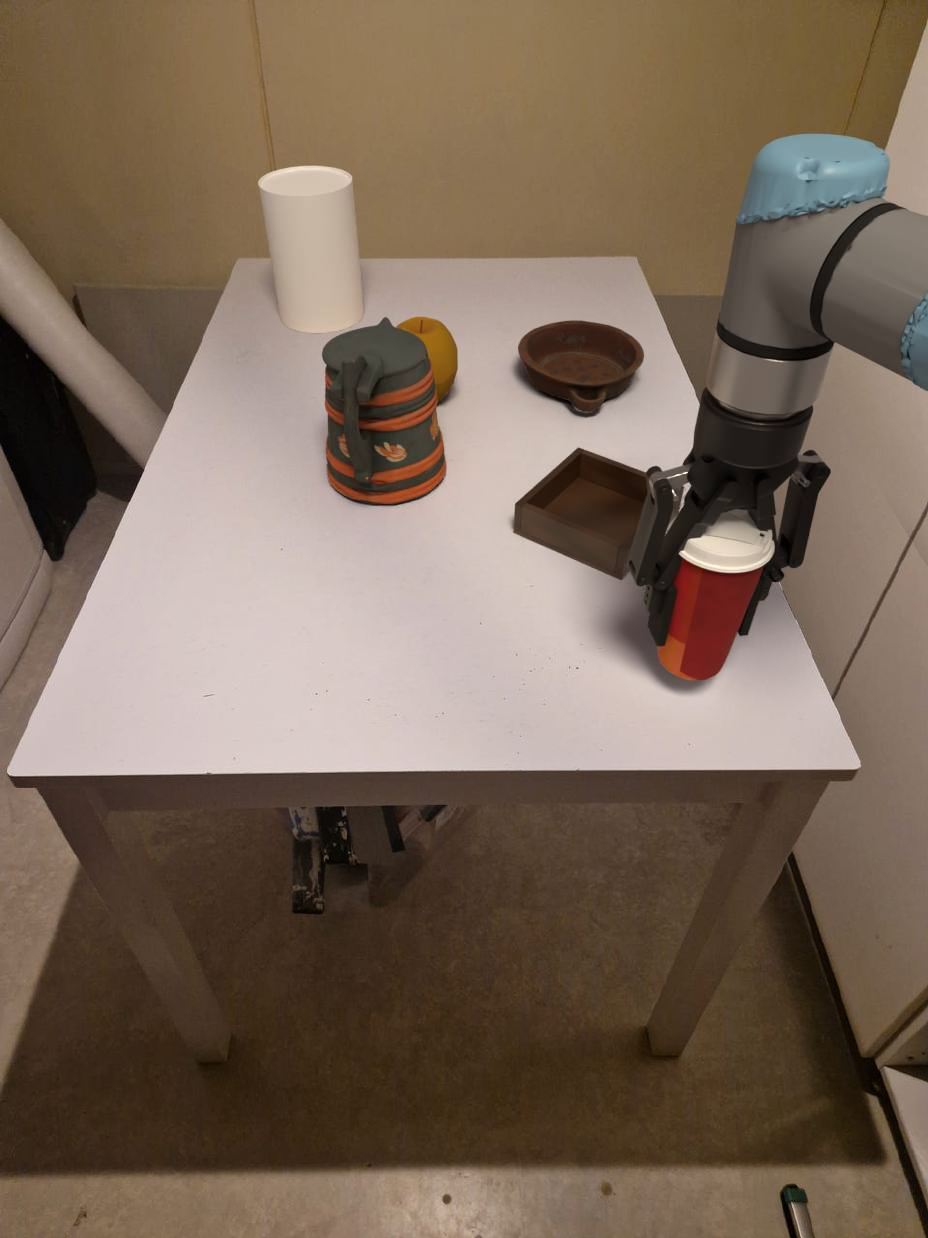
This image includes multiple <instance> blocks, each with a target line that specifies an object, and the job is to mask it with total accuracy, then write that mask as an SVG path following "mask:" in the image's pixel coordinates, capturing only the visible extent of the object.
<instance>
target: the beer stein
mask: <svg viewBox="0 0 928 1238" xmlns="http://www.w3.org/2000/svg"><path fill="white" fill-rule="evenodd" d="M396 327H397V326H394V325H393V324H392V322H391V320H390V318H389V317H387V316H385V317H383V318H382V319H381V320H380V322H379V323H378V324H376V325H369V326H364V327H359V328H356V329H352V330H349V331H346V332H345V331H344V332H342V333H340V334H339V335H336V336H334V337H333V338H331V339H330V340H328V342H326V343H325V345H324V346H323V347H322V352H321V358H322V361H323V363H324V364H325V369H324V382H325V385H324V386H325V389H324V393H325V394H324V407H325V410H326V413H327V436H326V440H325V455H326V467H327V469H326V472H327V473H326V475H327V478H328V481H329V483H330V485H331V486H333V489H334V490H335V491H337V493H340V495H342V496H344V497H346V498H348V499H350V500H352V501H356V502H361V503H366V504H372V505H380V504H381V505H382V504H383V505H396V504H397V505H398V504H401V503H405V502H408V501H411V500H417V499H420V498H421V497H423V496H426V495H427V494H428V493H430V492H431V491H432V490H433V489H435V488H436V487H437V485H439V484H440V483H441V482H442V480H443V479H444V477H445V475H446V472H447V461H446V456H445V445H444V438H443V437H444V436H443V433H442V430H441V428H440V427H439V419H438V411H437V406H438V402H437V390H436V386H435V379H434V371H433V364H432V362H431V360H430V359H429V357H428V352H427V349H426V345H425V344H424V342H423V341H422V340H421V339H420V338H419V337H418V336H416V335H414V334H413V333H410V332H408V331H405V330H402V329H399V328H396Z"/></svg>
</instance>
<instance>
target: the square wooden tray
mask: <svg viewBox="0 0 928 1238" xmlns="http://www.w3.org/2000/svg"><path fill="white" fill-rule="evenodd" d="M646 472H647V471H644V470H641V469H639V468H635V467H632V466H631V465H627V464H625V463H623V462H619V461H617V460H614V459H611V458H609V457H605V456H603V455H600V454H598V453H595V452H593V451H590V450H587V449H584V448H581V447H579V446H578V447H576V449H574V450H573V451H572V452H571V453H570V454H568V456H566V457H565V458H564V459H563V460H562V461H561V462H560V463H559V464H558V465H556V466H555V467H554V468H553V469H552V470H551V471H550V472H548V474H546V475H545V476H544V477H543V478H542V479H541V480H539V482H538V483H536V484H535V485H534V486H533V487H532V488H531V489H529V490H528V491H527V492H526V493H525V494H524V495H523V496H521V498H519V499H518V500H517V501H516V502H515V503H514V516H513V517H514V518H513V533H514V534H516V535H518V536H520V537H523V538H525V539H526V540H529V541H531V542H534V543H535V544H538V545H541V546H543V547H545V548H548V549H550V550H552V551H554V552H557V553H559V554H561V555H564V556H566V557H568V558H570V559H573V560H575V561H577V562H579V563H581V564H583V565H586V566H589V567H591V568H592V569H595V570H597V571H600V572H603V573H604V574H606V575H609V576H611V577H613V578H615V579H618V580H621V581H622V580H623V579H624V578H625V577H626V576H627V575H628V573H629V572H630V570H629V568H628V566H627V560H628V557H629V553H630V550H631V547H632V543H633V540H634V537H635V533H636V530H637V527H638V523H639V520H640V517H641V513H642V510H643V507H644V503H645V500H646V497H647V493H648V490H647V481H646ZM684 490H685V485H683V486H682V488H681V490H680V493H679V499H678V500H677V501H673V512H672V516H671V519H670V522H671V521H672V520H673V519H674V518H675V517H676V515H677V514H678V513H679V512H680V510H681V503H682V500H683V494H684ZM670 522H669V524H670Z"/></svg>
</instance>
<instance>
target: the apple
mask: <svg viewBox="0 0 928 1238" xmlns="http://www.w3.org/2000/svg"><path fill="white" fill-rule="evenodd" d="M395 327H396V328H399V329H402V330H405V331H408V332H410V333H413V334H414V335H416V336H418V337H419V338H420V339H421V340H422V341H423V342H424V344H425V345H426V349H427V352H428V357H429V359H430V360H431V362H432V364H433V371H434V379H435V386H436V390H437V403H439V402H440V401H442V400H443V399H444V397H446V395H447V394H448V393H449V392H450V390H451V389H452V387H453V385H454V383H455V380H456V377H457V373H458V368H459V366H458V365H459V361H458V360H459V358H458V355H459V354H458V345H457V343H456V341H455V339H454V337H453V335H452V332H451V331H450V330H449V329H448V328H447V325H445V324H444V323H443V322H442V321H440V320H438V319H435V318H430V317H427V316H414V317H410V318H408V319H406V320H404V321H402V322H400V323H398V324H397V325H396V326H395Z"/></svg>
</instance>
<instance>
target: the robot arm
mask: <svg viewBox="0 0 928 1238" xmlns="http://www.w3.org/2000/svg"><path fill="white" fill-rule="evenodd" d="M890 168H891V159H890V156H889V154H888V153H887V152H886V150H884V148H881V147H878V146H876V144H874V142H871V141H869V140H865V139H861V138H858V137H853V136H848V135H841V134H831V133H800V134H791V135H788V136H783V137H780V138H777V139H774V140H772V141H770V142H768V143H767V144H765V146H763V147H761V149H760V150H759V151H758V153H756V155H755V157H754V159H753V162H752V165H751V168H750V173H749V175H748V179H747V182H746V186H745V190H744V194H743V197H742V201H741V204H740V209H739V212H738V214H737V216H736V217H735V221H734V224H735V229H734V233H733V234H734V235H733V240H732V246H731V251H730V258H729V264H728V269H727V276H726V281H725V285H724V286H725V287H724V291H723V296H722V302H721V306H720V311H719V313H718V319H717V323H716V327H715V329H714V336H713V342H712V346H711V350H710V354H709V360H708V364H707V368H706V374H705V379H704V380H705V381H704V382H705V387H704V388H703V390H702V393H701V396H700V401H699V405H698V410H697V415H696V421H695V424H694V425H695V426H694V430H693V443H692V448H691V451H690V452H689V454H688V455H686V457H685V459H684V460H683V462H682V465H680V466H677V467H674V468H669V469H666V470H662V468H661V466H658V465H652V466H651V467H649V468H648V469H647V470H646V471H645V472H646V481H647V490H648V493H647V497H646V500H645V503H644V507H643V510H642V513H641V517H640V520H639V523H638V527H637V530H636V533H635V537H634V540H633V543H632V547H631V550H630V553H629V557H628V560H627V566H628V568H629V570H630V571H629V572H630V574H631V577H632V579H633V581H634V583H635V585H636V586H637V587H640V588H641V587H642V588H643V587H644V592H643V598H642V601H643V604H644V607H645V608H646V609H645V610H646V611H647V613H648V618H647V623H646V627H647V629H648V631H649V634H650V635H651V638H652V639H653V642H654V644H655V647H657V648H658V647H659V646H665V644H666V640H667V635H668V631H669V627H670V622H671V618H672V613H673V609H674V605H675V600H676V596H677V592H678V589H677V588H676V587H675V586H674V585H673V584H672V581H673V579H674V578H675V576H676V575H677V573H678V572H679V570H680V568H681V562H682V557H681V556H680V555H679V553H680V551H683V550H684V548H685V545H686V543H687V541H688V540H689V539H694V538H701V536H702V535H703V533H704V532H705V530H706V529H707V527H708V526H713V525H714V524H715V523H716V521H717V520H718V518H719V516H720V515H721V513H725V512H728V511H731V510H735V509H739V510H747V511H748V514H749V515H750V517H751V518H752V520H753V521H754V523H755V524H756V526H757V527H758V528H759V530H760V531H766V532H768V530H772V540H773V541H774V545H775V549H774V553H773V556H772V557H771V559H770V560H769V561H768V562H767V563H766V564H765V565H764V568H763V571H762V573H761V576H760V579H759V581H758V584H757V586H756V588H755V591H754V593H753V596H752V598H751V600H750V603H749V605H748V607H747V610H746V612H745V615H744V617H743V620H742V622H741V625H740V627H739V630H738V632H737V635H738V636H739V637H745V636H747V637H748V636H749V633H750V630H751V628H752V624H753V620H754V618H755V615H756V611H757V608H758V605H759V602H764V601H765V600H766V599H767V598H768V597H769V595H770V591H771V588H772V585H773V584H777V583H779V582H782V580H783V579H784V578H785V575H786V574H785V573H784V571H783V569H784V568H787V567H789V568H790V569H797V568H799V567H801V566H802V565H803V563H804V561H805V555H806V551H807V547H808V541H809V538H810V534H811V528H812V524H813V520H814V517H815V511H816V506H817V501H818V499H819V498H818V497H819V494H820V492H821V490H822V489H823V487H824V485H825V484H826V482H827V480H828V478H830V475H831V473H832V470H831V468H830V467H829V466H828V465H827V463H826V462H825V461H824V460H823V459H822V458H821V456H820V455H819V454H818V453H817V452H816V451H815V450H814V449H808V450H806V451H805V452H803V453H802V454H800V453H801V451H802V448H803V445H804V442H805V439H806V435H807V432H808V430H809V426H810V422H811V420H812V416H813V413H814V404H815V402H816V401H817V400H818V399H819V397H820V394H821V390H822V387H823V383H824V380H825V378H826V377H825V376H826V373H827V369H828V366H829V363H830V359H831V356H832V352H833V349H834V347H835V344H837V345H839V346H841V347H843V348H845V349H847V350H849V351H851V352H853V353H855V354H857V355H859V356H861V357H863V358H865V359H867V360H869V361H871V362H872V363H875V364H876V365H879V366H880V367H883V368H884V369H886V370H888V371H891V372H892V373H894V374H896V375H899V376H900V377H902V378H904V379H906V380H908V381H910V382H912V384H913V385H915V386H917V387H919V388H920V389H922V390H923V391H925V392H928V215H925V214H923V213H918V212H915V211H913V210H909V209H908V208H906V207H904V206H900V205H898V204H896V203H894V202H891V201H888V200H886V199H884V196H885V195H886V191H887V189H888V186H887V181H888V177H889V172H890ZM787 480H788V484H787V489H786V493H785V499H784V504H783V511H782V515H781V520H780V526H779V531H778V536H777V529H776V520H775V516H776V515H777V510H776V501H775V494H774V493H775V492H776V491H777V490H778V489H779V487H781V486H782V485H783V484H784V483H785V482H786V481H787ZM686 484H689V485H690V486H689V488H688V490H687V492H686V494H685V495H684V497H683V506H682V507H681V508H680V510H679V514H678V515H677V517H676V519H675V520H674V522H673V524H672V525H671V527H670V528H669V530H668V532H667V529H668V525H669V522H670V519H671V516H672V512H673V501H677V500H678V499H679V493H680V490H681V488H682V486H685V485H686ZM760 536H761V537H762V536H764V535H763V534H762V533H760Z"/></svg>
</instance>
